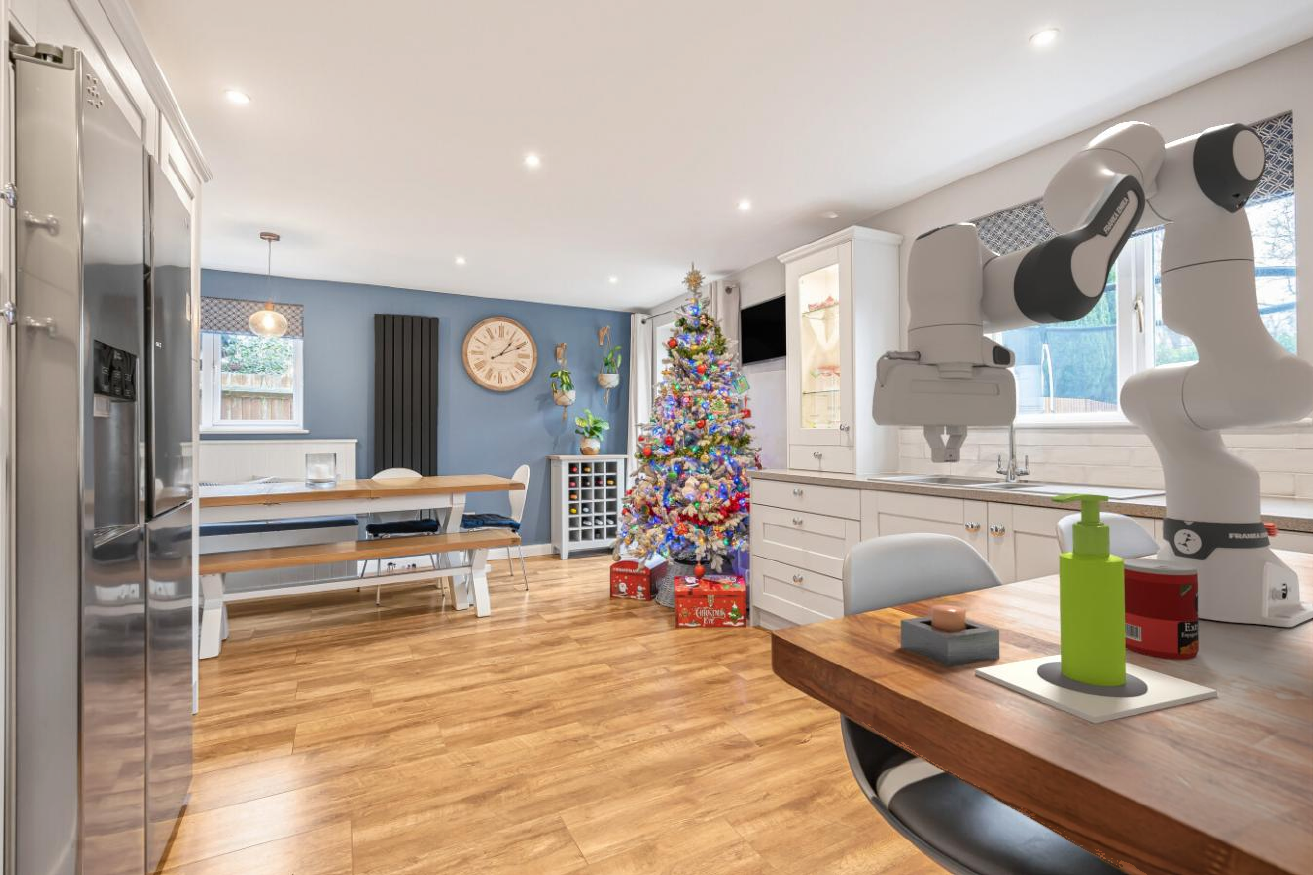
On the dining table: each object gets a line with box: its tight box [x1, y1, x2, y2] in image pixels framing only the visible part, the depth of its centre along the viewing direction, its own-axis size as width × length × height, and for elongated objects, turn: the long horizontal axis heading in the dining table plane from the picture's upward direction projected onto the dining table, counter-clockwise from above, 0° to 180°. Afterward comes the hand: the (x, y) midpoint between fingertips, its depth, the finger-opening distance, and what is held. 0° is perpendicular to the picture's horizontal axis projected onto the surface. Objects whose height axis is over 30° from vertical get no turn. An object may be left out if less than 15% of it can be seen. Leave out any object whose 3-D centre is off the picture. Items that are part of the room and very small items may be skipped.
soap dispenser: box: [1050, 492, 1127, 686], centre depth 71 cm, size 6×7×20 cm
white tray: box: [974, 654, 1218, 725], centre depth 70 cm, size 18×14×1 cm
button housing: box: [900, 615, 1000, 668], centre depth 82 cm, size 8×8×4 cm
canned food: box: [1123, 557, 1200, 661], centre depth 82 cm, size 8×8×11 cm
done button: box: [930, 604, 967, 632], centre depth 82 cm, size 4×4×3 cm
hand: (945, 462), depth 82 cm, fingers closed
